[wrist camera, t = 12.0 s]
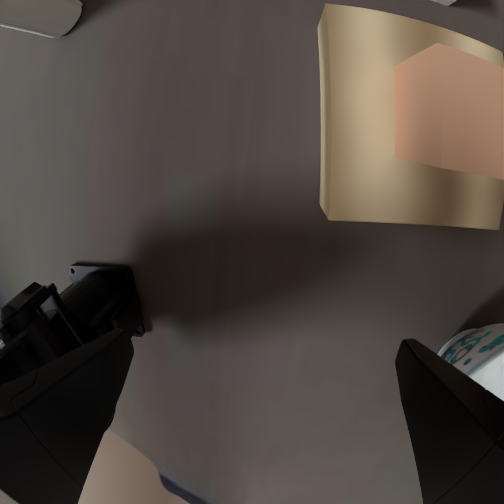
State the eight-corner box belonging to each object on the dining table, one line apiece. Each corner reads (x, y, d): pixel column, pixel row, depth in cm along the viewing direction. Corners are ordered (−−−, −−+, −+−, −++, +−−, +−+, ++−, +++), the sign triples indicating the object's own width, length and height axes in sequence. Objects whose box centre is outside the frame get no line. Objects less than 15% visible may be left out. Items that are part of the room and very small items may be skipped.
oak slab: (319, 204, 19) (328, 220, 15) (317, 27, 15) (325, 3, 11) (468, 213, 18) (498, 230, 14) (471, 60, 14) (502, 52, 10)
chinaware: (398, 422, 27) (413, 476, 19) (384, 328, 22) (413, 397, 15) (505, 371, 23) (531, 413, 16) (519, 265, 19) (569, 305, 12)
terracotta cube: (394, 157, 14) (440, 167, 9) (393, 66, 12) (437, 42, 7) (467, 168, 13) (522, 184, 9) (468, 85, 11) (522, 77, 7)
